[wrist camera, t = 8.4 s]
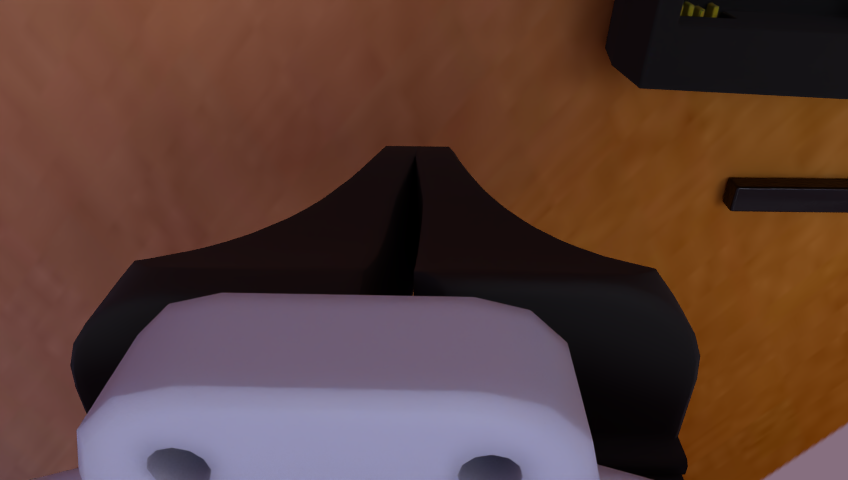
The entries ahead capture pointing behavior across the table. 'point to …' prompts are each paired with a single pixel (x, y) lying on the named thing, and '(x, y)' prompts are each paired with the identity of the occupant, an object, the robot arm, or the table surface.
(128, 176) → the table surface
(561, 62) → the table surface
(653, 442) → the robot arm
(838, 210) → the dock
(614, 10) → the battery charger
